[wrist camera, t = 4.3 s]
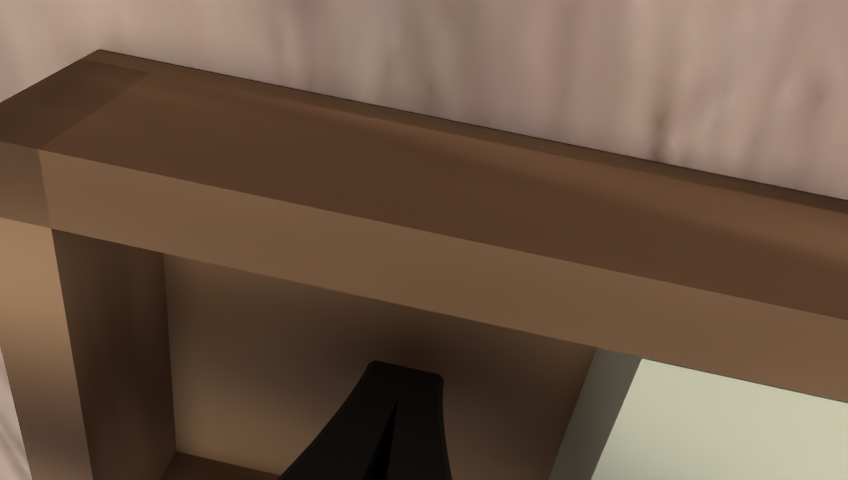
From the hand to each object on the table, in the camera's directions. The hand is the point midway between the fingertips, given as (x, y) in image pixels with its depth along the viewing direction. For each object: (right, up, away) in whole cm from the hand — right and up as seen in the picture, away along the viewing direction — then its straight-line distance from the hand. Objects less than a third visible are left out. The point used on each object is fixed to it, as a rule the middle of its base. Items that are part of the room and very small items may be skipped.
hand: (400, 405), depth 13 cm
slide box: (+3, 0, +1) cm, 3 cm away
